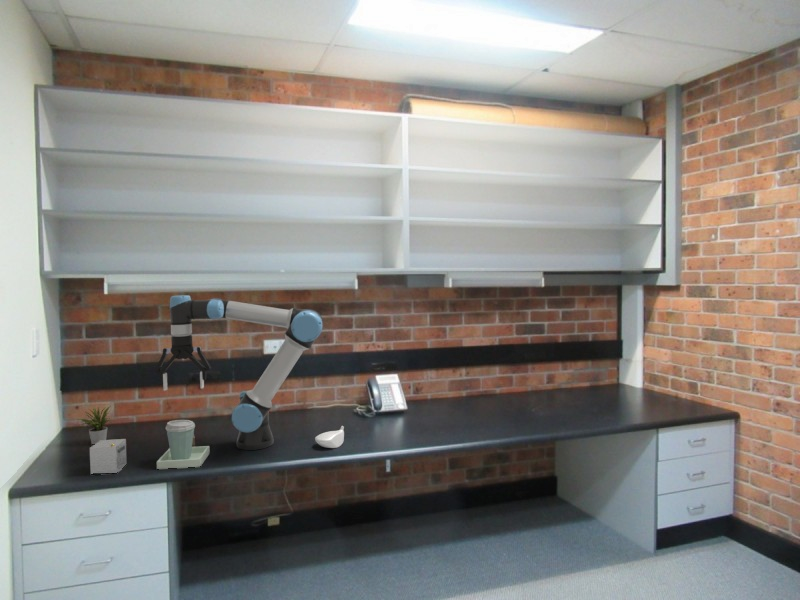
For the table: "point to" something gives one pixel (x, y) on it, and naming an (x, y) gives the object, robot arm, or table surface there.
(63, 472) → the table surface
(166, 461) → the tray
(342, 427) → the golf club head
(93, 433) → the house plant
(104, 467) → the unit
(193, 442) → the walnut block
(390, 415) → the table surface
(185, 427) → the disposable coffee cup
